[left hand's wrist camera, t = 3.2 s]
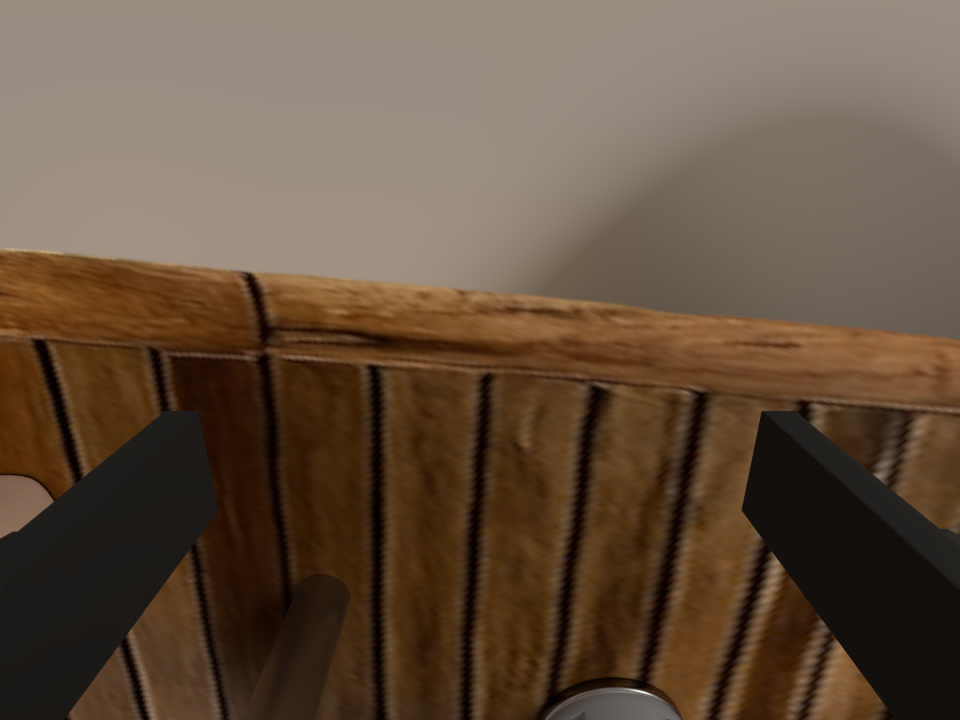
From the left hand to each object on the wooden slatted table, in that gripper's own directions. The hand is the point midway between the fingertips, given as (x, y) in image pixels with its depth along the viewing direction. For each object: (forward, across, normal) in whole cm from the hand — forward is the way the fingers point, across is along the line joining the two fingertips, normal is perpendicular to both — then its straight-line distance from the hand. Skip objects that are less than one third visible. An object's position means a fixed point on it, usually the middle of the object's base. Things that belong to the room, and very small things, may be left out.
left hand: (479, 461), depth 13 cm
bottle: (+28, +14, +31) cm, 44 cm away
